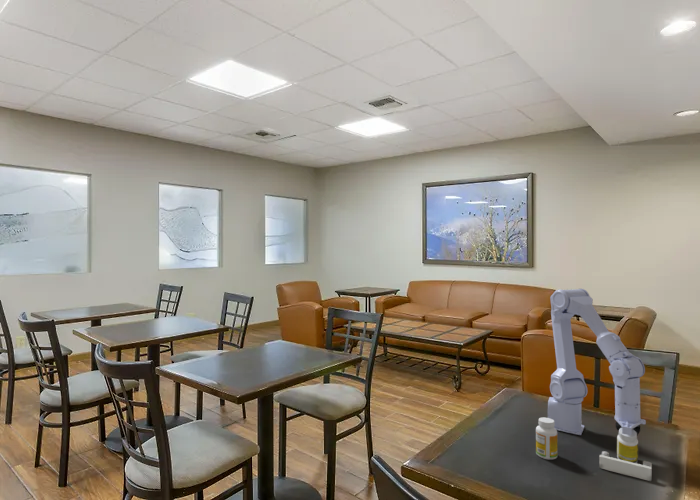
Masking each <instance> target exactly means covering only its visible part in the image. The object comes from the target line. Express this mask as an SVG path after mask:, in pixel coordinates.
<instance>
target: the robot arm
mask: <svg viewBox="0 0 700 500" xmlns="http://www.w3.org/2000/svg"><path fill="white" fill-rule="evenodd" d="M549 300H550V306H551V310H550V315H551V317H550V318H551V326H552V333H553V344H554V349H555V350H554V352H555V360H556V370H555V371H554V372H553V373H551V375H550V384H549V391H550V393H551V396H549V398H548V401H547V418H550V419H553V420H554V422H555V426H554V428H555V429H556V430H557V431H559V432H564V433H568V434H573V435H578V436H582V433H583V431H584V429H585V425H584V424H582V402H584V398H585V397H586V396H587V394H588V387H587V383H586V382H585V378H584V374H583V373H582V372H581V371H580V370H578V369H577V363H576V354H575V347H574V340H573V332H572V331H573V329H572V323H571V322H572V321H571V319H572V318H573V317H574V316H575V315H577V316H580V317H581V319H582V320H583V321H584V323H586V325H587V326H588V327H589V329H590V330H591V331H592V332H593V334H594V335H595V336H596V342H595V343H596V345H597V346H598V348H599V349H600V351H601V352H602V354H603V355H604V356H605V359H606V360H607V361H608V363H609V364H610V365H609V366H608V370H609V373H610V375H611V376H612V381H613V384H614V406H615V407H614V408H615V409H614V413H615V415H614V420H615V421H616V422H615V428H616V430H617V432H618V433H619V429H620V428H622V434H627V435H632V429H633V430H635V431H636V433H637V436H638V435H639V434H640V432H641V425H646V423H647V422H646V421H647V420H646V419H643V418H641V383H640V382H641V377H643V376H644V375H645V373H646V368H645V365H644V363H643V361H642V360H643V359H641V358H640V357H638V356H636V355H634V354H633V353H631V352H630V351H629V349H627V347H626V346H625V345H624V343H623V342H622V341H621V340H622V339H621V337H620V336H619V334H618V335H617V334H616V333H615V332H611V331H610V330H609V329H608V328H607V327H606V326H607V325H606V324H605V323H604V321H603V320H602V318H601V316H600V315H599V314H598V312H597V310H596V309H595V307H594V305H593V304H594V302H593V298H592V297H591V295H590V293H589V292H588V291H587V290H586V289H584V288H575V289H572V288H571V289H562V288H561V289H555V291H554V292H553V293H552V294H551V295H550V297H549Z"/></svg>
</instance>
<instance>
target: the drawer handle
mask: <svg viewBox="0 0 700 500" xmlns="http://www.w3.org/2000/svg"><path fill="white" fill-rule="evenodd" d="M598 459H599V463H598V464H599V466H598V468H599V469H602V470H606V471H610V472H614V473H618V474H621V475H625V476H629V477H633V478H637V479H641V480H645V481H648V482H652V473H653V472H652V469H653V468H652V467H653V465H652V464H653V463H652V462H650V461H648V460H643V461H642V464H640V463H638V462H637V463H633V462H628V461H624V460H620V459H618V458H616V457H612V456H611V457H610V453H609V451H606V450H605V451H604V450H602V451H601V454H599V457H598Z"/></svg>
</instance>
